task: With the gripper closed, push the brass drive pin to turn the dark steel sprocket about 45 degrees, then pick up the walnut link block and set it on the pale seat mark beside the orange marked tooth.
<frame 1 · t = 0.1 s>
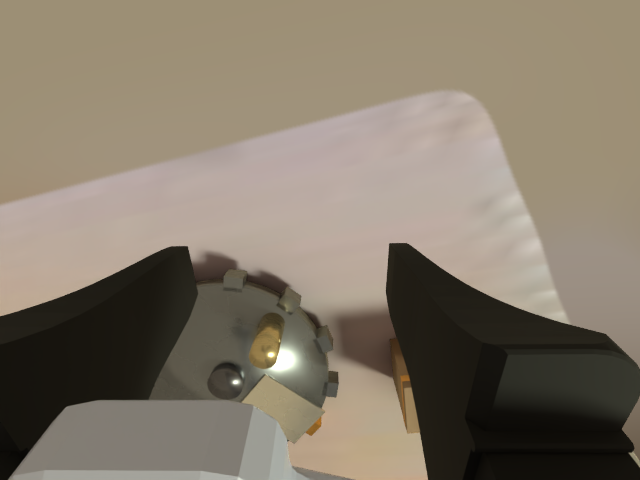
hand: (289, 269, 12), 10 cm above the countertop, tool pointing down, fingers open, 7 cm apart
link block: (425, 355, 25), on the countertop
sprocket: (223, 389, 23), point 3 cm above the countertop, hinge at 0.0°
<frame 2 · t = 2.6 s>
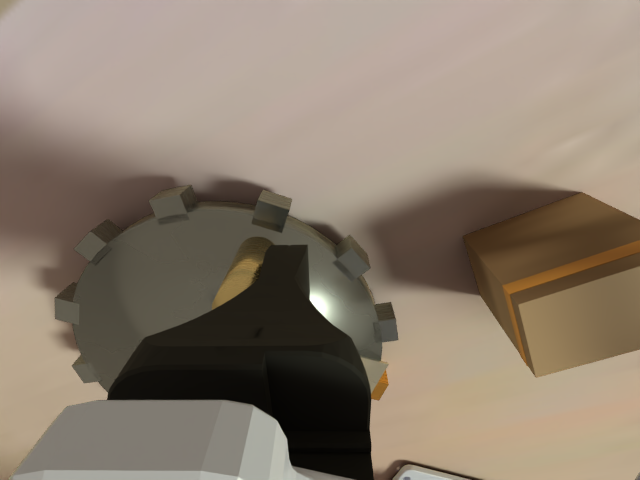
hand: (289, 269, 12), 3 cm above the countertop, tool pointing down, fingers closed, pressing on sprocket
link block: (526, 247, 15), on the countertop
sprocket: (223, 373, 15), point 3 cm above the countertop, hinge at 2.0°, touching gripper
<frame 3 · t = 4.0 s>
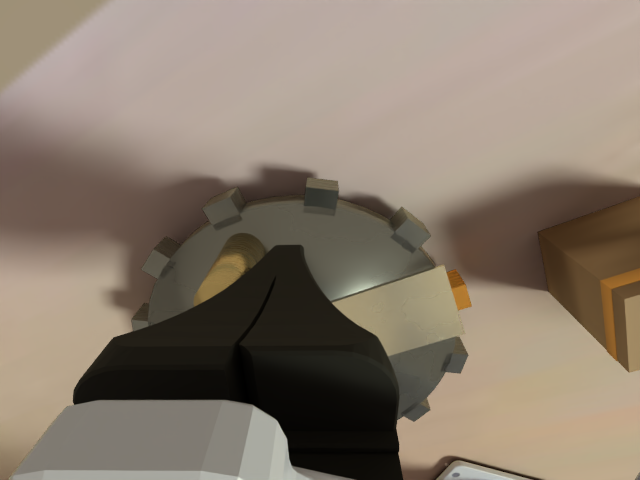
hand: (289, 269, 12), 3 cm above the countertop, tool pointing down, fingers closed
link block: (600, 243, 16), on the countertop
sprocket: (300, 366, 15), point 3 cm above the countertop, hinge at 44.1°, touching gripper
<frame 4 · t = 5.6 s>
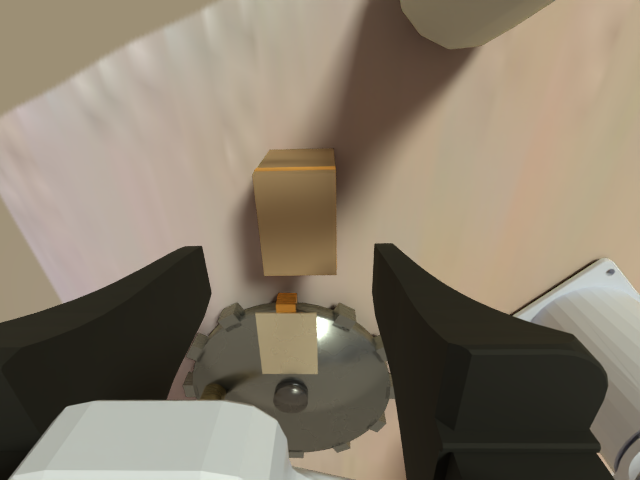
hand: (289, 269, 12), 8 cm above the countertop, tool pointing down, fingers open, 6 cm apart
link block: (303, 192, 20), on the countertop
sprocket: (290, 406, 23), point 3 cm above the countertop, hinge at 44.2°
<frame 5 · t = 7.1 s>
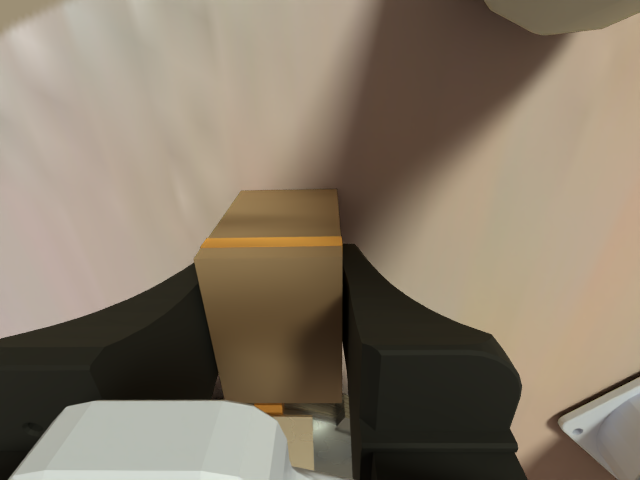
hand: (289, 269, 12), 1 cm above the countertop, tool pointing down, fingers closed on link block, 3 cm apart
link block: (293, 250, 14), on the countertop, touching gripper
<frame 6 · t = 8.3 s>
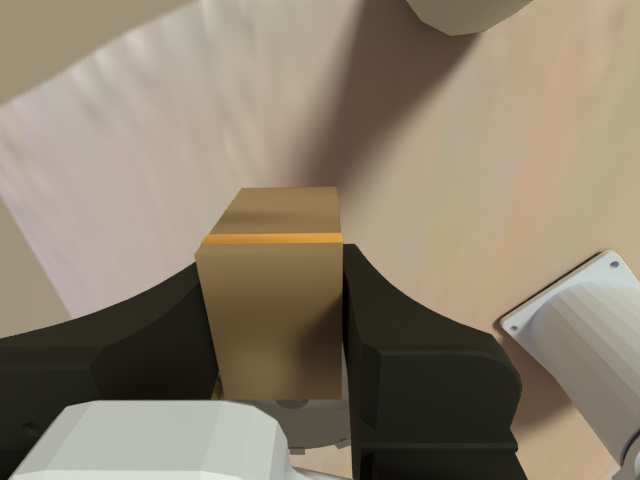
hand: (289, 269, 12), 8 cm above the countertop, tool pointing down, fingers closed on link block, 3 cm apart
link block: (293, 247, 14), point 7 cm above the countertop, touching gripper
sprocket: (290, 401, 23), point 3 cm above the countertop, hinge at 44.2°
when the fingers open (5 cm above the countertop, at t = 9.8 s): link block drops 1 cm, resting on sprocket.
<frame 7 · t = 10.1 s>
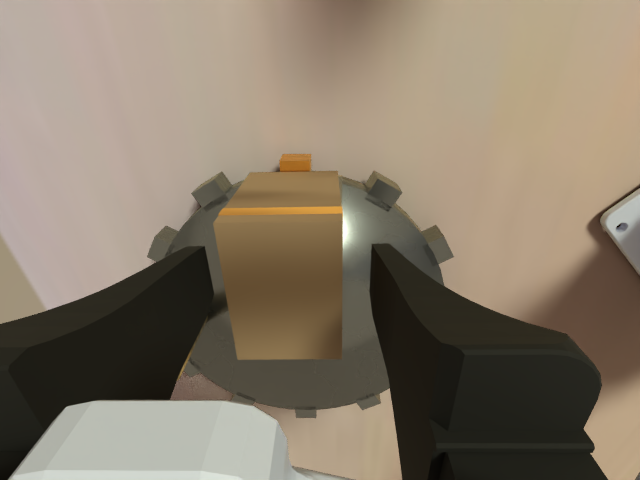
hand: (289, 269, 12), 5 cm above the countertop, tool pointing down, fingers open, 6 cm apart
link block: (297, 228, 15), point 2 cm above the countertop, touching sprocket
sprocket: (299, 331, 16), point 3 cm above the countertop, hinge at 44.2°, touching link block
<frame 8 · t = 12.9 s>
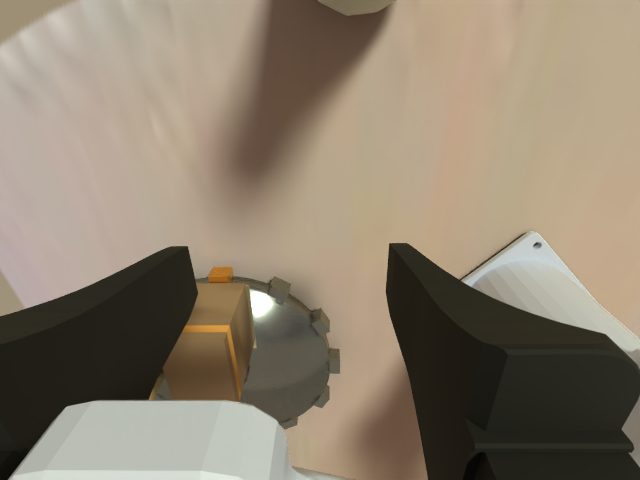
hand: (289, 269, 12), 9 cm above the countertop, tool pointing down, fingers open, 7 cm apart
link block: (223, 315, 23), point 2 cm above the countertop, touching sprocket
sprocket: (229, 379, 24), point 3 cm above the countertop, hinge at 44.2°, touching link block
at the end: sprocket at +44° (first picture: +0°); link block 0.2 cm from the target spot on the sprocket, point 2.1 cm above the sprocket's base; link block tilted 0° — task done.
